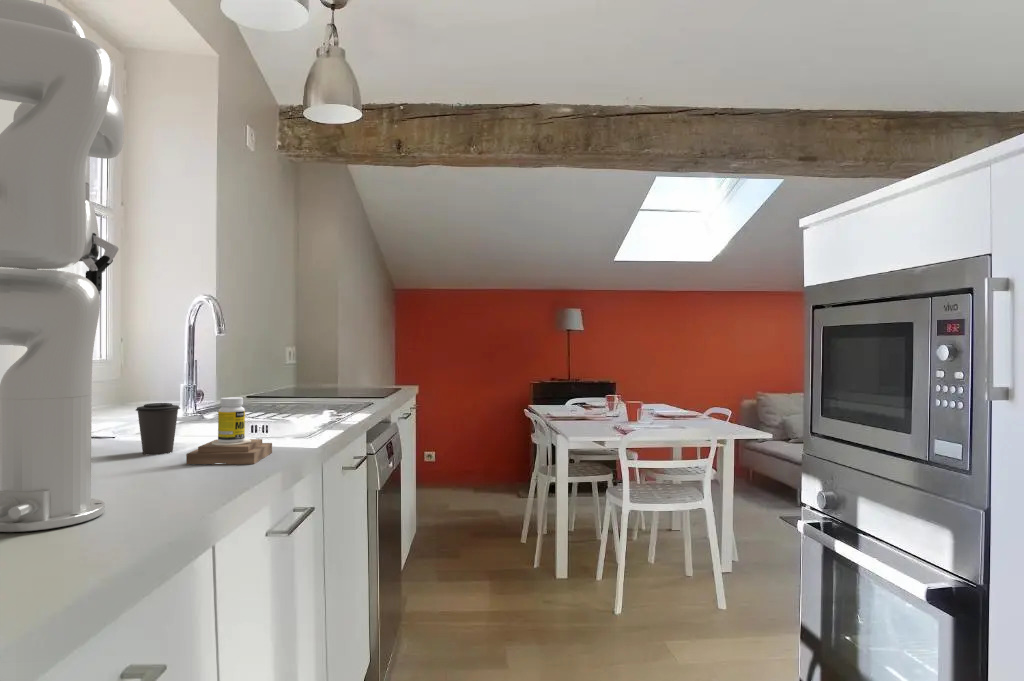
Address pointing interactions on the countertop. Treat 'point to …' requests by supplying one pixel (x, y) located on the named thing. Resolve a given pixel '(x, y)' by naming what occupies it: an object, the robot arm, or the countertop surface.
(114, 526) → the countertop surface
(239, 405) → the supplement bottle
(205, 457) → the plinth
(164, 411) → the coffee cup
